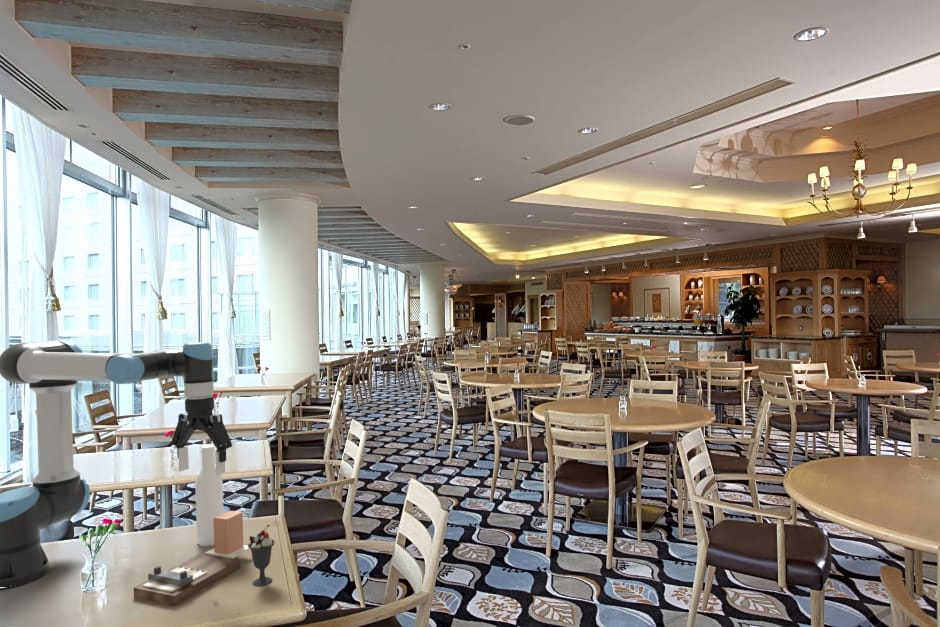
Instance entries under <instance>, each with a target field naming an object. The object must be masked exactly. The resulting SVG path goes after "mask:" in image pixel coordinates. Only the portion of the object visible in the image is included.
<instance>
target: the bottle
mask: <svg viewBox="0 0 940 627" xmlns="http://www.w3.org/2000/svg"><path fill="white" fill-rule="evenodd" d="M215 451H216V449H215V445H214V444H213V445H212V444H211V445H210V444H209V445H203V446H202V447H201V451H200V454H201V468H202V469H201V470H200V471H199V472H198V474H196V478H195V481H194V483H195V484H194V486H195V510H196V511H195V512H196V513H195V515H196V518H195V519H196V541H197V542H196V543H198V544H199V545H201V546H200V547H210V546H209V545H213V546H214V524H213V518H214V517H216V516H218V515H220V514H223V513H224V490H223V489H224V486H223V476H222V474H219V475H216V464H215ZM198 544H197V545H198ZM199 545H198V546H199Z"/></svg>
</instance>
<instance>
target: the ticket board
mask: <svg viewBox="0 0 940 627" xmlns="http://www.w3.org/2000/svg"><path fill="white" fill-rule="evenodd" d="M241 564H242V562H241V558H237V557H235V558H233V559H232V558H226V557H220V556H213V555H207V554H206V552H201V553H198V554H197V555H195V556H194V557H191V558H189V559H187V560H186V561H185V560H184V561H183V562H182V563H180V564H178V565H175V566H174V567H171V568H170V569H168V570H166V569H162V566H161V565H159V566H155V567H154V568H153V571H151V572H149V573H148V574H147V576H148V580H146V581H143V582H142V583H140V584H138V585H136V586H134V587H133V598H134V599H138V600H139V599H140V600H144V601H149V602H154V603H159V604H163V605H167V606H168V605H169V606H173V607H176V606H177V605H180V604H181V603H183V602H185V601H187V600H188V599H190V598H191V596H192V597H193V596H195V595H197V594H199V593H200V592H202V591H204V590H205V589H207V588H209V587H211V586H212V585H213V583H214V584H215V582H216V583H217V582H218V581H221V580H222V579H225V577H227V576H229V575H231V574H232V573H235V572H236V571H238V570H240V569H241V568H242V567H241V566H242V565H241ZM220 579H221V580H220ZM208 586H209V587H208ZM206 587H207V588H206ZM204 588H205V589H204ZM203 589H204V590H203ZM201 590H202V591H201ZM198 592H199V593H198ZM196 593H197V594H196ZM194 594H195V595H194ZM189 597H190V598H189ZM186 599H187V600H186ZM184 600H185V601H184ZM179 603H180V604H179Z"/></svg>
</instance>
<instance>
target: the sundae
mask: <svg viewBox="0 0 940 627" xmlns="http://www.w3.org/2000/svg"><path fill="white" fill-rule="evenodd" d="M270 526H271V525H270V524H267V525H266V527H265V528H264V529H263V530H260V532H259V533H257V534H256V535H255V536H249V537H248V539H249V542H250V543H248V545H247V546H248V547H249V548H250V549H249V550H250V552H251V558H252V563H253V566H254V567H255V568H256V569H258V570H259V577H258V578H256V579H254V580H253V581H252V585H253V586H254V587H264V586H267V585H269V584H271V583H272V582H273V578H272V577H269V576H266V573H265V570H266V568H267V567H268V566H269V565H270V563H271V557H272V548H273V546H275V539H272V538H271V536H270V534H269V533H268V532H267V530H268V528H269V527H270Z"/></svg>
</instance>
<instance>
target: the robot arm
mask: <svg viewBox="0 0 940 627" xmlns="http://www.w3.org/2000/svg"><path fill="white" fill-rule="evenodd" d="M213 355H214V354H213V347H212V344H211V343H210V342H207V341H206V342H205V341H204V342H202V341H200V342H188V343H184V344H183V346H182V349H178V350H177V349H176V350H175V349H174V350H173V349H172V350H171V349H170V350H169V349H168V350H167V349H165V350H164V349H159V350H158V349H155V350H150V351H148V352H140V353H139V352H138V353H106V352H104V353H103V352H84V351H83V350H82V349H81V348H80V347H79V346H78V345H77V344H75V342H72V341H68V340H49V341H48V340H47V341H39V342H38V341H37V342H22V343H18V344H17V343H16V344H14V345H12V346H9V347H7V348H6V349H5V350H4V351H2V352H1V354H0V376H1V377H2V378H3V379H4V380H6V381H8V382H10V383H13V384H17V385H20V384H21V385H22V384H23V385H24V384H25V385H26V384H27V385H29V386H28V387H29V389H30V390H31V391H32V392H34V394H35V399H36V400H35V404H36V430H37V431H36V432H37V459H38V460H37V461H38V462H37V463H38V474H37V475H36V476H35V477H34V478H33V479H32V486H22V487H21V486H20V487H17V488H15V489H9V490H6V491H3V492H1V493H0V587H10V586H15V585H19V586H21V585H20V584H22V585H24V584H23V583H25V584H28V583H30V582H29V581H31V582H33V581H35V579H36V580H37V578H38V579H40V578H41V576H42V577H43V576H45V575H46V574H47V573H48V572H49V570H50V561H49V559H48V556H47V554H46V551H45V550H44V548H43V546H42V544H41V530H43V529H47V528H49V527H51V526H53V525H56V524H58V523H61V522H63V521H66V520H69V519H71V518H73V517H74V516H76V515H78V514H80V513H81V512H82V511H83V510H85V508H86V507H87V505H88V504H89V502H90V496H91V489H90V486H89V484H88V483H87V480H86V479H84V478H83V477H81V472H80V471H78V470H76V469H75V467H74V440H73V433H74V432H73V410H72V408H73V407H72V406H73V405H72V389H74V388H75V387H76V386H77V385H78V383H77V382H78V381H85V382H91V381H93V382H112V383H114V384H117V385H128V384H133V383H137V382H142V381H150V380H155V379H161V378H168V377H171V378H172V377H183V384H184V392H183V394H184V397H185V400H184V410H185V412H183V413H178V416H177V417H178V420H177V424H176V426H175V429H174V432H173V435H172V439H171V441H170V445H171V446H175V448H176V451H177V452H176V454H177V459H178V472H184V471H186V470H189V467H190V465H189V446H188V442H189V440H190V439H191V437H192V435H193V434H194V433H195V432H196V431H202V432H204V433H205V434H206V435H207V436H208V438H209V439H210V441H211V442H212V444H213V446H214V448H216V449H215V452H214V459H215V468H216V475H219V474H221V475H222V474H225V473H226V461H227V449H230V448H232V447H233V444H232V441H231V438H230V436H229V434H228V430H227V429H226V427H225V424H224V421H223V415H222V414H221V413H219V414H215V415H214V414H213V410H215V397H214V396H213V395H214V394H215V392H214V365H213V364H214V356H213ZM39 577H40V578H39ZM32 580H33V581H32ZM27 582H28V583H27ZM15 587H16V586H15Z"/></svg>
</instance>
